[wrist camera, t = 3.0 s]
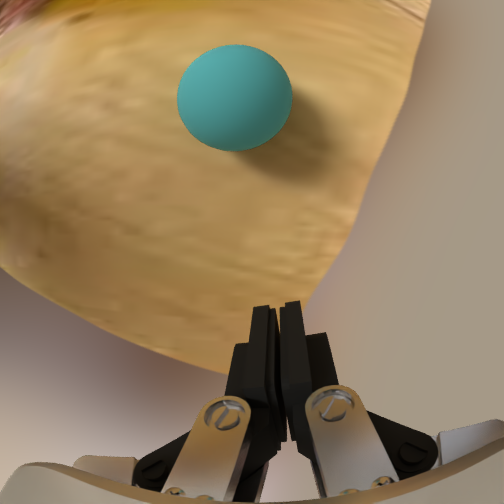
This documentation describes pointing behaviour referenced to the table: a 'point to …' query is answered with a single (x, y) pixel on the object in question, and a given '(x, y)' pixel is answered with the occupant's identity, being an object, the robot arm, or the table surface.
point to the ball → (234, 97)
